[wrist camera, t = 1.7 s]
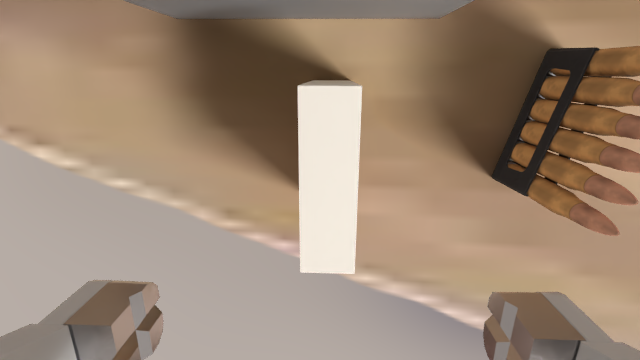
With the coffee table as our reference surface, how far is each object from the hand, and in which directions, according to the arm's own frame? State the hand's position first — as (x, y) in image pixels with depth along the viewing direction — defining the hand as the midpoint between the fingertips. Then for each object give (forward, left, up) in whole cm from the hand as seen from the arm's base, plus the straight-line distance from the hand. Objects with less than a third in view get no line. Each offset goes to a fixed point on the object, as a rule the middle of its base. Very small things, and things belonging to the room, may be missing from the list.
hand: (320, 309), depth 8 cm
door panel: (0, 0, -21) cm, 21 cm away
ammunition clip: (-16, -2, -22) cm, 27 cm away
